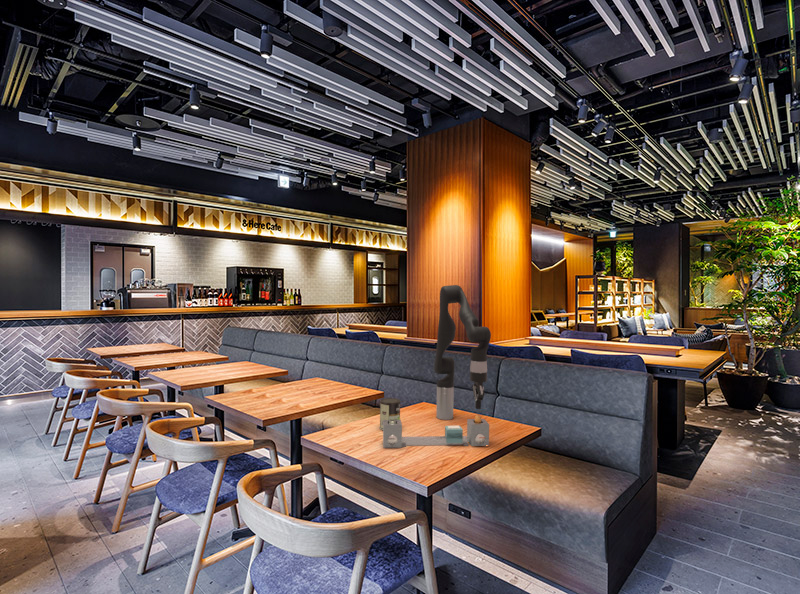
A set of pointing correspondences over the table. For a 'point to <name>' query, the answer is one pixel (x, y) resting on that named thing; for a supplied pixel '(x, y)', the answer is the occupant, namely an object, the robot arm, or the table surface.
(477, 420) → the button
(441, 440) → the rail
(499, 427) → the table surface
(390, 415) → the coffee can
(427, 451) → the table surface
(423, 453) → the table surface
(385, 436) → the cabinet
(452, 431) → the carriage
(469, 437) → the cabinet
